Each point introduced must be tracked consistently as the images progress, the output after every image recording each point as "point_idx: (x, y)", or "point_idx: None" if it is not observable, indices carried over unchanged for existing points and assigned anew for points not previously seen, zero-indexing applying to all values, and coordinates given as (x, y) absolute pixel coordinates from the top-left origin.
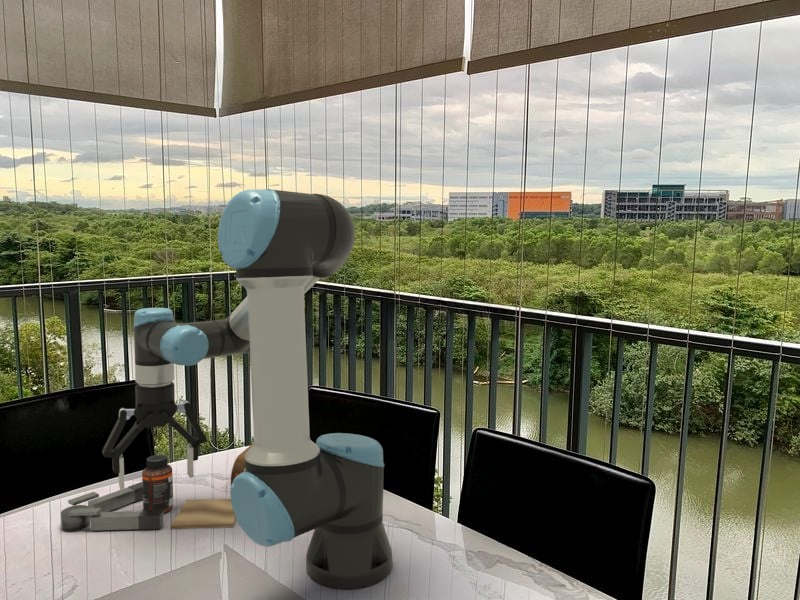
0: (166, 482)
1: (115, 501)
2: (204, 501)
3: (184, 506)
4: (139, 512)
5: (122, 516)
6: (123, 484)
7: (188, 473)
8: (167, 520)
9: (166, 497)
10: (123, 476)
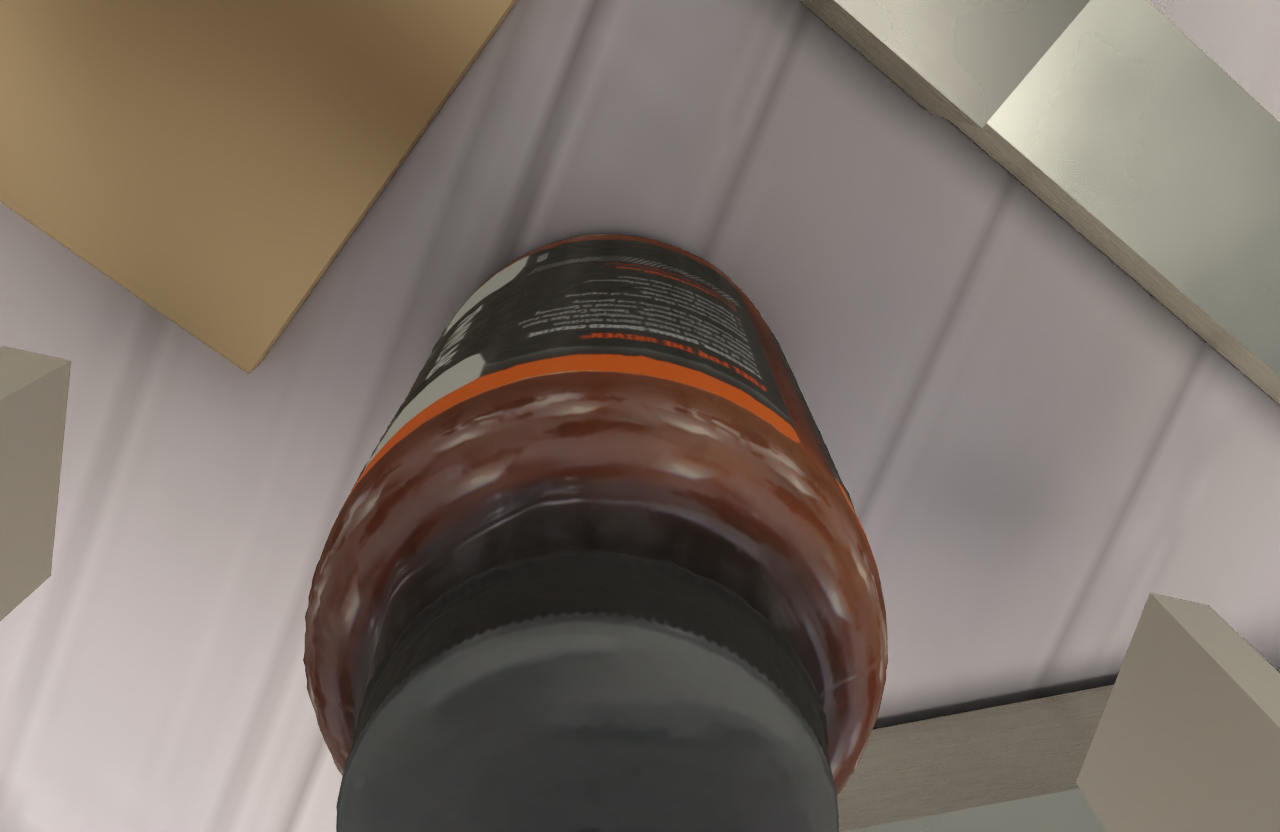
0: (533, 335)
1: (1012, 758)
2: (56, 166)
3: (339, 195)
4: (1040, 97)
5: (1268, 131)
6: (1200, 640)
7: (42, 497)
8: (646, 19)
9: (559, 272)
10: (1278, 717)
